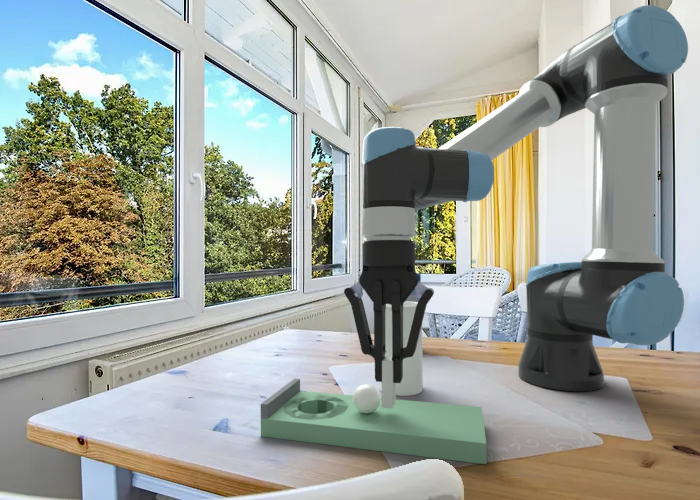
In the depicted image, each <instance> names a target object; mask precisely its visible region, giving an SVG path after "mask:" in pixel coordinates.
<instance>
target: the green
mask: <svg viewBox="0 0 700 500" xmlns="http://www.w3.org/2000/svg"><path fill="white" fill-rule="evenodd" d="M380 398H381V400H380V405H379V407H378V408H377V409H376V410H375V411H374V412H372V413H368V414H365V413H362V412H360V411H358V410H357V409H356V407H355V406H354V403H353V395H350V394H341V393H329V392H328V393H327V392H318V391H306V390H305V391H303V390H301V379H300V378H293V379H292V380H290V381H289V382H288V383H286V384H285V385H284V386H283V387H281V388H280V389H278V390H277V391H276V392H274V393H273V394H272V395H271V396H269V397H268V398H267V399H265V400H264V401H262V402H261V403H260V437H264V438H270V439H271V438H272V439H281V440H286V441H294V442H295V441H296V442H304V443H311V444H312V443H313V444H321V445H328V446H336V447H342V448H343V447H344V448H352V449H358V450H359V449H361V450H367V451H375V452H384V453H393V454H401V455H407V456H416V457H425V458H432V459H441V460H449V461H455V462H456V461H457V462H466V463H473V464H480V465H487V463H488V461H487V438H486V430H485V422H484V421H485V420H484V414H483V408H482V406H476V405H475V406H473V405H465V404H464V405H463V404H452V403H451V404H450V403H439V402H429V401H419V400H417V401H416V400H406V399H396V402H395V404H394V407H393V409H391V408H382V397H380Z"/></svg>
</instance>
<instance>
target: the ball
mask: <svg viewBox="0 0 700 500" xmlns="http://www.w3.org/2000/svg"><path fill="white" fill-rule="evenodd" d="M379 391H380V390H378V388H377V387H376V386H375V385H372V384H368V383H364V384H361V385H359V386H358V387H357V388H356V389H355V390H354V392H353V395H352V396H353V403H354V406H355V407H356V409H357V410H358V411H360V412H362V413H365V414H368V413H372V412H374V411H375V410H376V409H377V408H378V407H379V405H380V400H381V398H382V397H381V394H380V392H379Z"/></svg>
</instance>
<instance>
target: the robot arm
mask: <svg viewBox="0 0 700 500" xmlns="http://www.w3.org/2000/svg"><path fill="white" fill-rule="evenodd" d="M688 54H689V43H688V38H687V35H686V32H685V30H684V28H683V26H682V25H681V23H680V22H679V21H678V19H676V17H675V16H674V14H672V13H671V12H669V11H668V10H667V9H665V8H663V7H660V6H657V5H651V4H647V5H642V6H639V7H636V8H634V9H631V11H629V12H627V13H625V14H623V15H619V16H617V17H616V18H614V20H613V21H612V22H611V23H609V24H608V25H606V26H605V27H603V28H601V29H600V30H598V31H596V32H594V33H593V34H592V35H590V36H588V37H587V38H585V39H584V40H582V41H580V42H579V43H577V44H576V45H573V46H572V47H569V49H567V50H565V52H563V53H562V54H561V55H560V56H558V57H557V58H556V59H555V60H553V61H552V62H551V63H550V64H549V65H548V66H547V67H545V68H544V69H543V70H542V71H541V72H539V73H538V74H537V75H536V76H534V77H533V78H531V79H530V80H529V81H528V82H526V83H524V84H523V85H522V87H521V88H520V90H519V92H518V94H517V95H516V96H514V97H513V98H511V99H509V100H508V101H507V102H505V103H504V104H502V105H500V106H499V107H498V108H496V109H495V110H494V111H492V112H490V113H489V114H487V115H486V116H484V117H483V118H482V119H480V120H478V121H477V122H475V123H474V124H472V125H471V126H470V127H468V128H467V129H465V130H463V131H462V132H460V133H459V134H458V135H455V137H453V138H452V139H450V140H449V141H446V143H444V144H443V145H441V146H440V147H438V148H434V147H423V146H418V145H417V142H416V137H415V133H414V132H413V131H412V130H410V129H408V128H407V129H406V128H404V127H399V126H385V127H384V126H383V127H379V128H376V129H373V130H371V131H369V132H368V133H367V134H366V135H365V136H364V138H363V142H362V157H361V164H360V165H361V166H360V167H361V175H362V176H361V177H362V178H361V179H362V180H361V181H362V182H361V183H362V185H361V187H362V209H361V210H362V218H361V219H362V220H361V223H362V224H361V225H362V226H361V227H362V228H361V232H362V233H361V235H362V237H363V238H366V241H365V240H363V243H362V245H361V246H362V248H361V249H362V255H361V256H362V260H361V261H362V263H361V264H362V267H361V269H362V270H361V273H360V275H359V277H358V281H357V282H356V283H354V284H353V285H351V286H348V287H345V288H344V290H343V294H344V295H345V297H346V299H347V301H348V302H349V304H350V306H351V311H352V315H353V318H354V324H355V328H356V333H357V335H358V341H359V344H360V349H361V353H362V354H364V355H368V356H370V357H372V358H373V360H374V379H375V382H377V383H379V382H382V391H381V398H382V408H391V409H393V407H394V404H395V402H396V396H397V395H396V383H401V380H402V378H403V359H404V358H407V357H412V356H413V355H414V353H415V350H416V347H417V342H418V338H419V334H420V330H421V326H422V327H423V321H424V318H425V313H426V309H427V304H429V302H430V300H431V299H432V297H433V296H434V295H435V291H434V289H433V288H431V287H428V286H426V285H425V284H423V283H422V282H421V283H420V282H419V277H418V275H417V274H418V273H417V271H416V243H415V242H414V241H415V240H412V238H414V236H416V212H417V211H420V210H423V209H426V208H430V207H433V206H437V205H441V204H445V203H450V202H463V203H467V202H478V201H479V202H480V201H482V200H483V199H485V198H486V197H488V195H489V193H490V192H491V190H492V188H493V185H494V180H495V167H494V163H493V160H494V159H496V158H498V157H499V156H500V155H502V154H503V153H505V152H506V151H507V150H509V149H510V148H512V147H513V146H514V145H516V144H517V143H519V142H520V141H522V140H523V139H524V138H526V137H527V136H529V135H531V134H533V132H535V131H536V130H538V129H539V128H547V127H550V126H552V125H554V124H555V123H557V122H558V121H559V120H561V119H563V118H565V117H567V116H569V115H571V114H574V113H577V112H579V111H582V110H585V109H587V110H588V111H589V112H591V113H592V114H593V115H594V116H593V117H594V124H593V125H594V126H593V127H594V129H593V166H592V167H593V168H592V169H593V171H592V173H593V174H592V176H593V177H592V215H591V217H592V223H591V224H592V226H591V227H592V228H591V250H590V251H589V253H587V254H586V255H584V257H583V258H582V259H581V261H573V262H557V263H548V264H539V265H535V266H532V267H530V268H529V269H528V271H527V276H526V284H525V288H526V322H527V323H526V324H527V325H526V326H527V329H526V330H527V336H526V337H527V338H526V340H525V341H526V342H525V344H524V348H523V350H522V354H521V357H520V359H519V362H518V377H519V378H520V379H522V380H523V381H525V382H527V383H529V384H532V385H535V386H538V387H542V388H546V389H550V390H551V389H552V390H558V391H566V392H567V391H568V392H591V391H597V390H599V389H600V390H601V389H603V388H604V387H605V386H604V385H605V376H604V375H605V374H604V370H603V368H602V365H601V362H600V359H599V357H598V354H597V351H596V349H595V346H594V341H593V338H594V336H595V337H599V338H603V339H609V340H613V341H615V342H617V343H620V344H632V345H637V346H650V345H656V344H658V343H660V342H662V341H664V340H665V339H667V338H668V337H669V336H670V334H671V333H673V332H674V331H675V329H676V328H677V327H678V325H679V323H680V322H681V319H682V316H683V313H684V306H685V295H684V291H683V289H682V288H681V287H679V286H680V283H679V282H678V280H677V279H676V278H674V277H673V276H671V275H669V274H668V273H665V272H666V271H665V269H666V268H665V267H666V265H665V264H666V263H665V260H664V259H662V258H661V257H660V256H659V255H658V254H656V252H655V251H654V221H655V220H654V219H655V216H654V215H655V166H656V165H655V164H656V163H655V158H656V111H657V110H656V107H657V105H658V104H659V102H661V101H662V100H663V99H664V98H665V97H666V96H667V95H668V92H669V91H668V86H669V85H668V84H669V78H668V77H669V76H670V75H673V74H674V73H676V72H677V71H678V70H679V69H680V68H682V66H683V65H684V63H686V60H687V58H688ZM416 145H417V146H416ZM414 289H416V291H417V293H416V298H417V299H418V300H419V301H418V303H417V306H416V310H415V314H414V318H413V322H412V326H411V330H410V334H409V339H408V343H407V347H404V348H403V303H404V302H405V301H406V300H407V298H408V297H409V296H410V294H411V293H412V292H413V290H414ZM363 290H364V292H365V293H366V295H367V296H368V297H369V299H370V300H371V302H372V305H373V339H372V334H371V330H370V327H369V323H368V317H367V314H366V309H365V306H364V305H365V304H364V301H363V299H362V297H363V296H364V292H363ZM386 304H391V305H392V357H388V356H385V353H386V351H385V311H386Z"/></svg>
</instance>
